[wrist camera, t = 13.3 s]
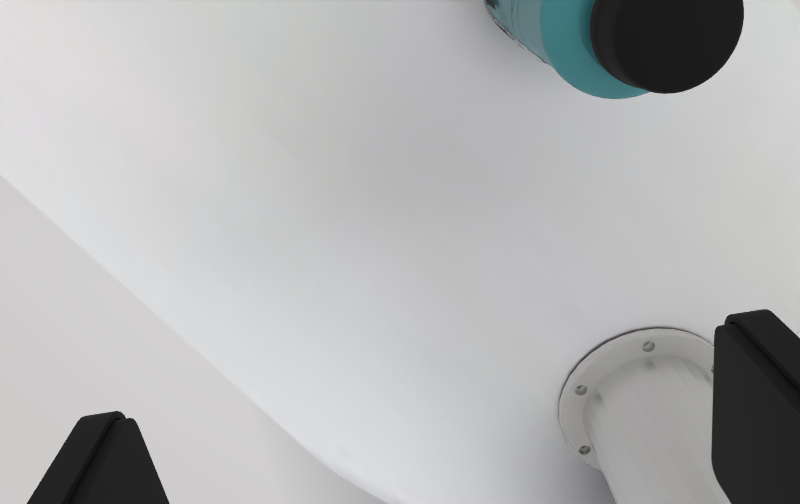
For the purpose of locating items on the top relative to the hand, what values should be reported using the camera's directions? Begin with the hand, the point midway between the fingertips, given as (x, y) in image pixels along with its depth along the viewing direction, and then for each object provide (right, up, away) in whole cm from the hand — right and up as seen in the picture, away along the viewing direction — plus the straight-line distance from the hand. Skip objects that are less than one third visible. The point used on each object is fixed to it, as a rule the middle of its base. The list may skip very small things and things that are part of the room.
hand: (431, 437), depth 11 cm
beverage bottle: (+7, +18, +27) cm, 33 cm away
